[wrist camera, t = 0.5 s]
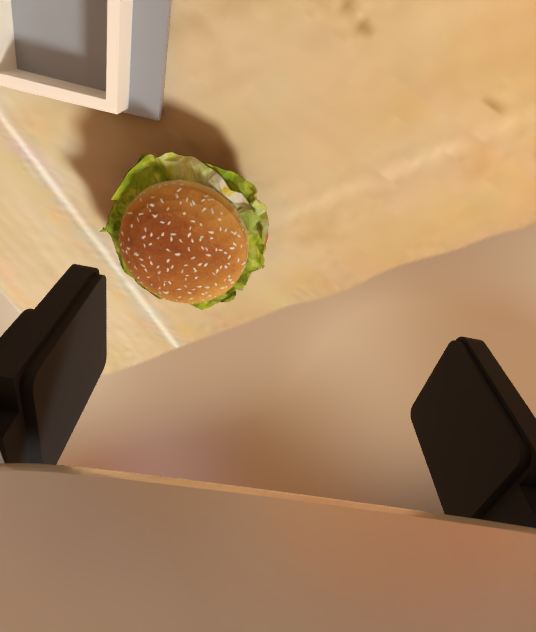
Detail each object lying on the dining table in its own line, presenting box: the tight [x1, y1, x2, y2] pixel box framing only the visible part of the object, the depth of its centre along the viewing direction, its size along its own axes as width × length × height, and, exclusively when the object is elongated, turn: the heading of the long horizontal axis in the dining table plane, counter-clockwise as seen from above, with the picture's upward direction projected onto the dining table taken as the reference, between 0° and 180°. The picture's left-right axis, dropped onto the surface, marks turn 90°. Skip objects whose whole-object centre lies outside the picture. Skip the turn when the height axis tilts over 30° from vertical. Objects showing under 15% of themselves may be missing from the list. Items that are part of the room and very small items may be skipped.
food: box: [100, 152, 269, 310], centre depth 37 cm, size 14×14×8 cm
